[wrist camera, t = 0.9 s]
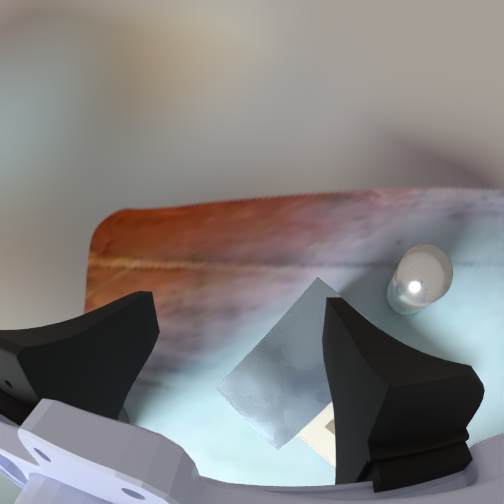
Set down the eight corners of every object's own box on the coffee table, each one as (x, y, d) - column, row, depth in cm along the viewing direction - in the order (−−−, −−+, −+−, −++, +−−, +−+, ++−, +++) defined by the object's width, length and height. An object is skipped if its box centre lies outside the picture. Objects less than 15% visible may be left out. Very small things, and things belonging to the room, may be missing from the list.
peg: (434, 289, 23) (462, 266, 16) (409, 324, 23) (432, 314, 16) (402, 263, 25) (419, 232, 18) (377, 297, 25) (387, 277, 18)
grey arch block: (377, 340, 24) (389, 336, 16) (302, 419, 24) (277, 450, 16) (329, 299, 27) (317, 276, 18) (257, 377, 26) (215, 387, 18)
